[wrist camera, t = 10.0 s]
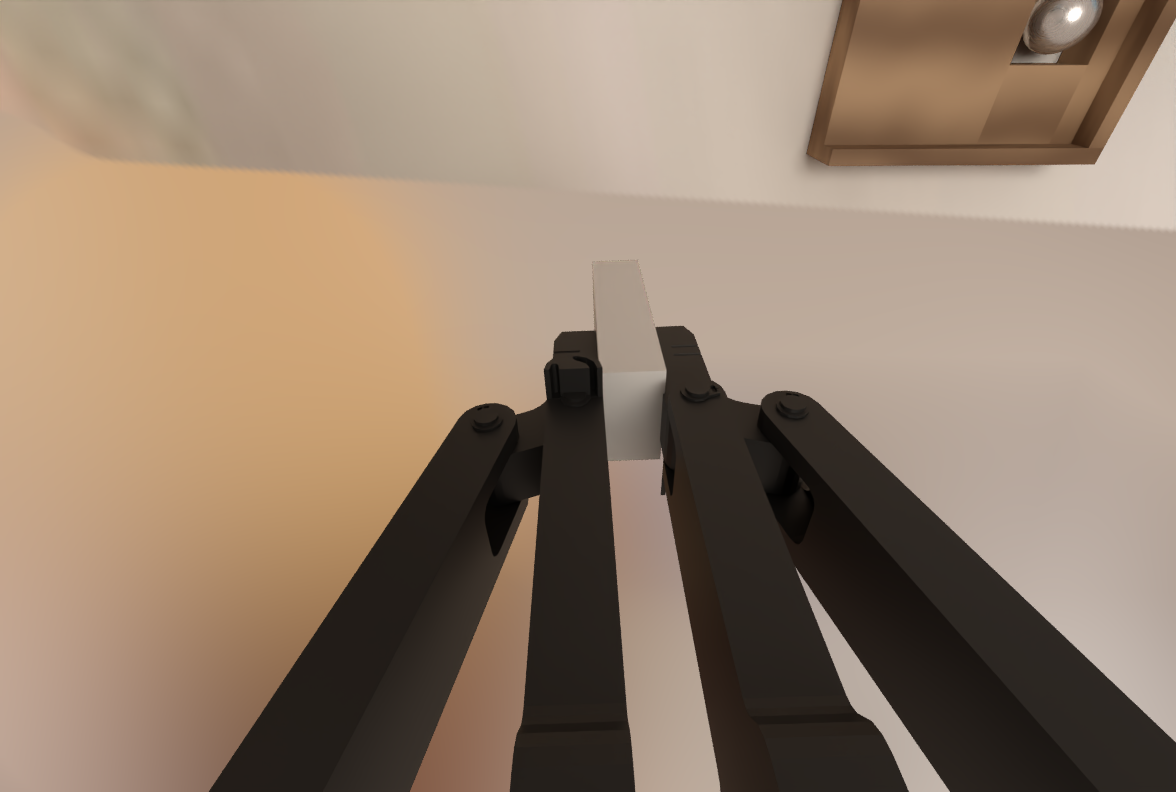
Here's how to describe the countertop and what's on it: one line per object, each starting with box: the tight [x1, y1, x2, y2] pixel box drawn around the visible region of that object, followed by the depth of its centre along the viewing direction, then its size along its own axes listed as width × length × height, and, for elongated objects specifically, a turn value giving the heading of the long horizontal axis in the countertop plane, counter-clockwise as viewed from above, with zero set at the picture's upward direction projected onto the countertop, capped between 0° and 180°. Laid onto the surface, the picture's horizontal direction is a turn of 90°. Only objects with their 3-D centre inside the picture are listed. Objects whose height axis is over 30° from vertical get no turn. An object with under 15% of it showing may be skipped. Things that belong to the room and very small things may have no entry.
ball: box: [1022, 0, 1103, 54], centre depth 31 cm, size 4×4×4 cm
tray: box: [807, 0, 1176, 166], centre depth 30 cm, size 16×18×4 cm
